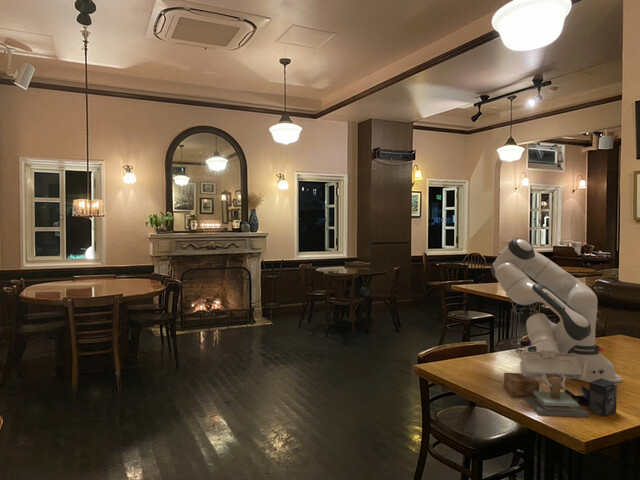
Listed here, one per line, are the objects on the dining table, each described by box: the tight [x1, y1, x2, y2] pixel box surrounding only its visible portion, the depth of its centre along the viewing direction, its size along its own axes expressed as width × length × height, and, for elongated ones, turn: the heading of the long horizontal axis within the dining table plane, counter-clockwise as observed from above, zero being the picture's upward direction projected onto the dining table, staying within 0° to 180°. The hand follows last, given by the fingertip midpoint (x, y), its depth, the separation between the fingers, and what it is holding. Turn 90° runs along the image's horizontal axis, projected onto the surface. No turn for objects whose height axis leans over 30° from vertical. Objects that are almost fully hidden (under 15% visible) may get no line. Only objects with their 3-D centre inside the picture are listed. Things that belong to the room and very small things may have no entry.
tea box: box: [502, 372, 540, 398], centre depth 178 cm, size 10×10×6 cm
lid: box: [533, 376, 580, 407], centre depth 162 cm, size 11×11×8 cm
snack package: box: [563, 384, 589, 404], centre depth 169 cm, size 12×6×12 cm
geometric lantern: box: [505, 292, 542, 356], centre depth 233 cm, size 16×16×35 cm
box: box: [587, 378, 618, 417], centre depth 159 cm, size 8×6×11 cm
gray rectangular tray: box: [525, 397, 589, 418], centre depth 162 cm, size 16×13×2 cm
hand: (556, 388), depth 161 cm, fingers closed on lid, 3 cm apart
